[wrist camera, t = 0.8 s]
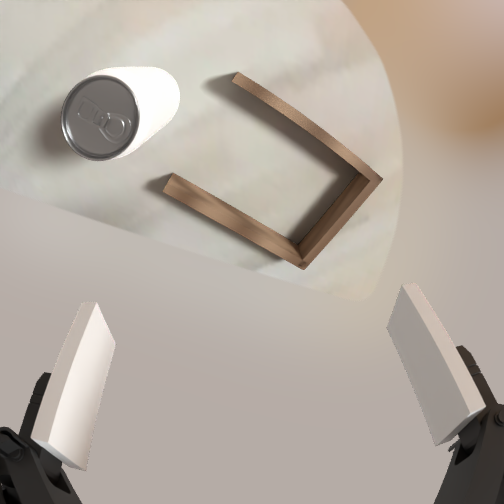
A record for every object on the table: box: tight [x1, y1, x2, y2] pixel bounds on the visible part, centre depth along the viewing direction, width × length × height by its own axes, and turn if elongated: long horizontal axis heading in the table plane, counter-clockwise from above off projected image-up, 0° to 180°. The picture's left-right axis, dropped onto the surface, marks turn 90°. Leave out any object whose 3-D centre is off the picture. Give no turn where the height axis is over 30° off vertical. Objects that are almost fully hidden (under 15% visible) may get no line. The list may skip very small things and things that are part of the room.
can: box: [61, 67, 180, 161], centre depth 21 cm, size 6×6×12 cm
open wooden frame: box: [162, 72, 383, 270], centre depth 30 cm, size 17×13×3 cm
